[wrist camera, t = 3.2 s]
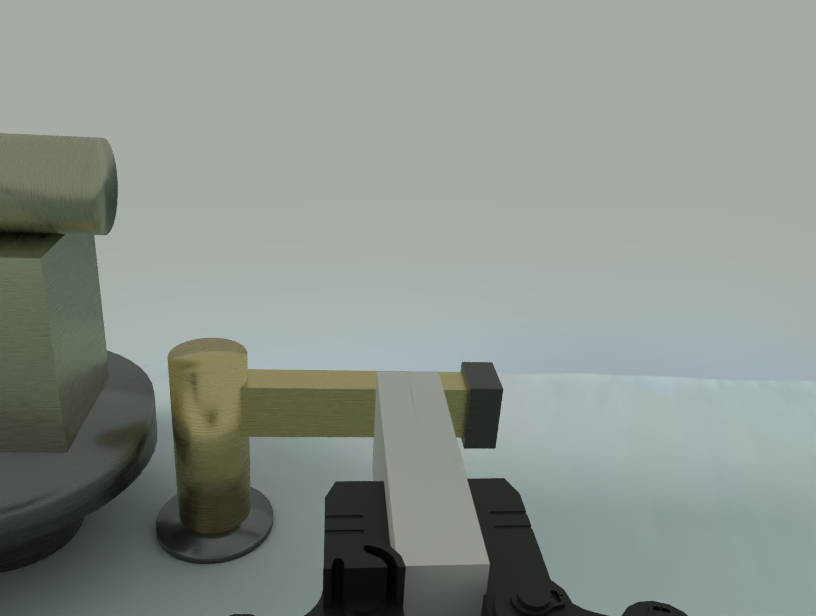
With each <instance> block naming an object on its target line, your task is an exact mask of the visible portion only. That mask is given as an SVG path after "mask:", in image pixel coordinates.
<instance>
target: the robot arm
mask: <svg viewBox="0 0 816 616" xmlns="http://www.w3.org/2000/svg"><path fill="white" fill-rule="evenodd" d="M373 477H374V481H344V482H335V483H334V485H333V487H332V488H331V490H330V491H329V493H328V494H327V496H326V497H325V538H324V569H323V592H322V596H321V598H320V600H319V602H318V604H317V605H316V606H315V607H314V608H313V609H312V610H311V611H310V612H309V613H307V614H306V615H304V616H607V615H603V614H599V613H594V612H591V611H588V610H585V609H582V608H580V607H578V606H576V605H574V604H573V603H572V602H571V600H570V598H569V597H568V595H567V594H566V592H565V591H564V590H563V589H562V588H561V587H560V586H558V585H557V584H556V583H554V582H553V581H551V579H550V577H549V574H548V571H547V568H546V566H545V563H544V560H543V557H542V555H541V552H540V549H539V546H538V543H537V541H536V538H535V535H534V532H533V530H532V529H531V524H530V521H529V519H528V516H527V514H526V510H525V507H524V505H523V502H522V499H521V496H520V494H519V493H518V492H517V491H516V490H515V489H514V488H513V487H512V486H511V485H510V484H509V483H508V482H507V481H506V480H505V479H504V478H490V479H467V476H466V473H465V469H464V465H463V461H462V458H461V454H460V450H459V446H458V443H457V439H456V435H455V431H454V427H453V424H452V420H451V416H450V412H449V409H448V405H447V401H446V397H445V394H444V390H443V386H442V382H441V379H440V375H439V372H400V371H377V376H376V400H375V423H374V447H373ZM230 616H254V615H251V614H234V615H230ZM622 616H688V615H686V614H685V613H684V612H682V611H680V610H678V609H676V608H674V607H672V606H671V605H668V604H664V603H660V602H655V601H644V602H637V603H635V604H633V605H631V606H629V607H627V609H626V610H625V612H624V613H623V615H622Z"/></svg>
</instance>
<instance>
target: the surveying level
mask: <svg viewBox="0 0 816 616" xmlns="http://www.w3.org/2000/svg"><path fill="white" fill-rule="evenodd" d="M117 197H118V181H117V170H116V164H115V159H114V155H113V151H112V149H111V146H110V144H109V143H108V141H107V140H106V139H104V138H94V137H72V136H50V135H27V134H5V133H0V572H5V571H10V570H14V569H18V568H21V567H24V566H27V565H30V564H32V563H35V562H37V561H39V560H42V559H44V558H46V557H47V556H49V555H51V554H53V553H54V552H56V551H57V550H59V549H60V548H61V547H63V546H64V545H65V544H66V543H67V542H69V540H70V539H71V538H72V537H73V536H74V535H75V534H76V532H77V531H78V530H79V528H80V526H81V524H82V521H83V517H84V516H86V515H88V514H90V513H92V512H94V511H95V510H97V509H99V508H100V507H102V506H103V505H105V504H106V503H108V502H109V501H111V500H112V499H114V498H115V497H116V496H117V495H119V494H120V493H121V492H122V491H123V490H125V489H126V488H127V487H128V486H129V485H130V484H131V483H132V482H133V481H134V480H135V479H136V478H137V477H138V476H139V475H140V474H141V472H142V471H143V470H144V468H145V467H146V466H147V464H148V463H149V461H150V459H151V457H152V455H153V453H154V450H155V446H156V442H157V421H156V409H155V396H154V390H153V386H152V383H151V381H150V379H149V377H148V376H147V374H146V373H145V372H144V371H143V370H142V369H141V368H140V367H139V366H137V365H136V364H135V363H133V362H131V361H130V360H128V359H126V358H124V357H122V356H120V355H118V354H115V353H112V352H110V351H107V350H106V341H105V332H104V323H103V313H102V304H101V295H100V285H99V276H98V267H97V257H96V248H95V239H94V235H107V234H108V233H109V232H110V231H111V229H112V227H113V224H114V220H115V216H116V209H117ZM250 494H251V510H250V513H249V515H248V517H247V518H246V519H245V521H243V522H242V523H241V524H240V525H238V526H236V527H235V528H232V529H230V530H227V531H224V532H219V533H200V532H196V531H193V530H191V529H189V528H187V527H186V526H185V525H183V523H182V522H181V520H180V518H179V509H178V495H176V496H175V497H173V498H172V499H171V500H169V501H168V502H167V503H166V504H165V505H164V507H163V508H162V509H161V511H160V513H159V515H158V517H157V522H156V528H157V537H158V540H159V542H160V544H161V546H162V547H163V548H164V549H165V550H166V551H167V552H168V553H169V554H171V555H172V556H174V557H176V558H178V559H181V560H184V561H188V562H192V563H201V564H210V563H220V562H226V561H230V560H233V559H236V558H239V557H241V556H244V555H246V554H248V553H249V552H251V551H253V550H254V549H256V548H257V547H258V546H259V545H260V544H262V543H263V542H264V540H265V539H266V538H267V536H268V535H269V533H270V531H271V529H272V524H273V510H272V506H271V504H270V502H269V500H268V499H267V498H266V497H265V496H264V495H263V494H262V493H261V492H259V491H258V490H256V489H254V488H252V487H250Z"/></svg>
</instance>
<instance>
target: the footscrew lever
mask: <svg viewBox="0 0 816 616" xmlns="http://www.w3.org/2000/svg"><path fill="white" fill-rule="evenodd" d="M168 369H169V383H170V397H171V411H172V425H173V439H174V453H175V467H176V481H177V495H178V509H179V518H180V520H181V522H182V523H183V525H185V526H186V527H187V528H189V529H191V530H193V531H196V532H200V533H219V532H224V531H227V530H230V529H232V528H235V527H236V526H238V525H240V524H241V523H242V522H243V521H245V519H246V518H247V517H248V515H249V513H250V510H251V494H250V452H249V437H374V423H375V400H376V376H377V371H332V370H257V369H247V351H246V349H245V348H244V347H243V346H242V345H241V344H239V343H237V342H235V341H232V340H228V339H222V338H202V339H195V340H191V341H188V342H184V343H182V344H180V345H178V346H176V347H174V348H173V349H172V350H171V351H170V352H169V354H168ZM400 372H407V371H400ZM439 375H440V379H441V382H442V386H443V390H444V394H445V397H446V401H447V405H448V409H449V412H450V416H451V420H452V424H453V427H454V431H455V435H456V437H457V438H461V439H462V443H463V447H464V448H495V447H496V440H497V432H498V424H499V417H500V409H501V402H502V394H503V388H502V385H501V383H500V380H499V378H498V375H497V373H496V371H495V368H494V366H493V363H486V362H462V365H461V372H439Z"/></svg>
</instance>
